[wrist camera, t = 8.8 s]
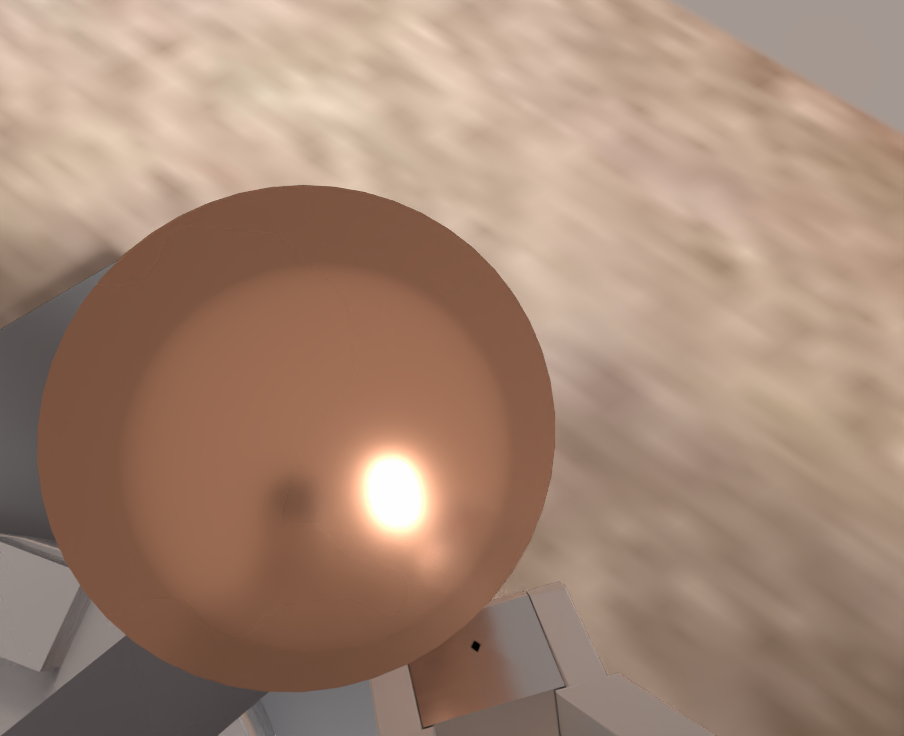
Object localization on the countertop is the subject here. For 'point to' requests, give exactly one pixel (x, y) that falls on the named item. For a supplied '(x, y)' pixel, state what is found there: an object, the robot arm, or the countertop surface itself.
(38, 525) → the base plate
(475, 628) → the robot arm
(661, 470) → the countertop surface
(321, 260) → the crank turntable
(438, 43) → the countertop surface
